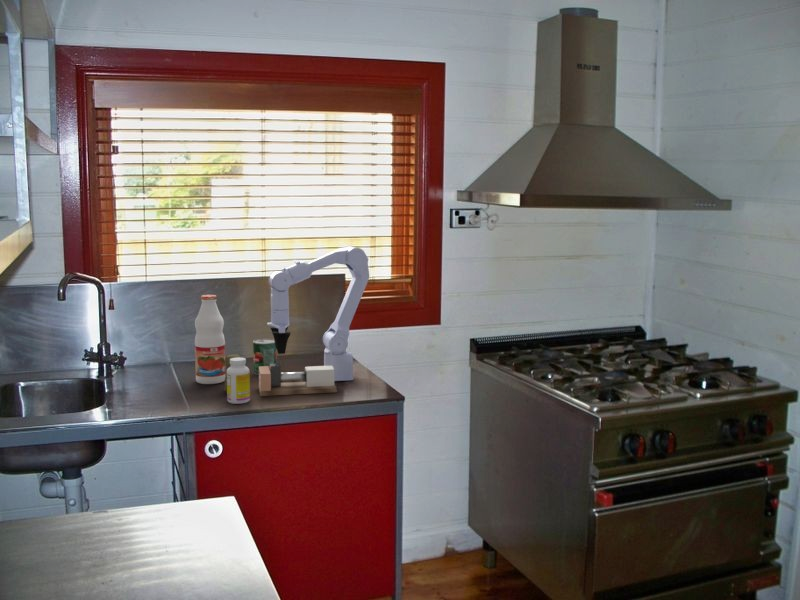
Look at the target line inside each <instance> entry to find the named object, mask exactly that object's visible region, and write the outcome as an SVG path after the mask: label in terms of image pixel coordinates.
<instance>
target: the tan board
mask: <svg viewBox="0 0 800 600" xmlns="http://www.w3.org/2000/svg"><path fill="white" fill-rule="evenodd" d="M257 384H258V388H257V389H258V391H259V396H260V397H266V396H267V397H268V396H269V397H270V396H283V395H284V396H285V395H288V396H290V395H303V394H304V395H306V394H307V395H310V394H328V393H337V392H338V389H337V388H338V387H337V386H336V384H335V383H334V386H316V387H307V386H306V384H305V382H291V383H281V386H277V387H271V391H261V389H260V385H259V382H258V383H257Z"/></svg>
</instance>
